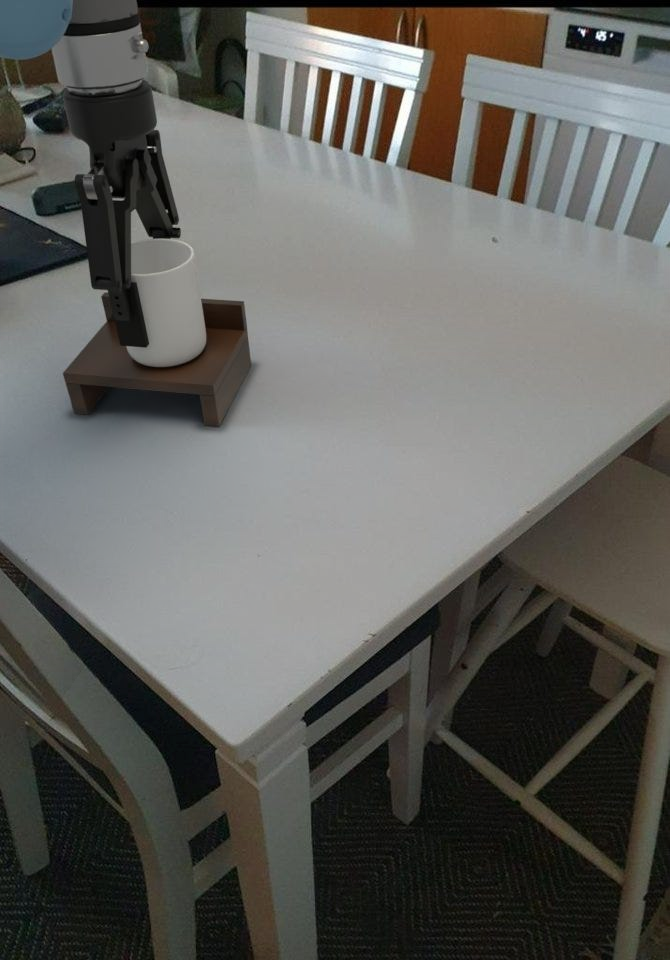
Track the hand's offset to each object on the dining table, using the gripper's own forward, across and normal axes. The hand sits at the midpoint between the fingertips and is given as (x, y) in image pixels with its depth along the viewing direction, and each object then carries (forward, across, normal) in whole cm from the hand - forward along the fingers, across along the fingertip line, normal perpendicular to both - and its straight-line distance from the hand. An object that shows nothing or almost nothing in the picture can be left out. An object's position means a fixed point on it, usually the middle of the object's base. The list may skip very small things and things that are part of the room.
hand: (152, 321), depth 83 cm
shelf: (+8, 0, 0) cm, 8 cm away
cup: (+3, +1, 0) cm, 3 cm away
